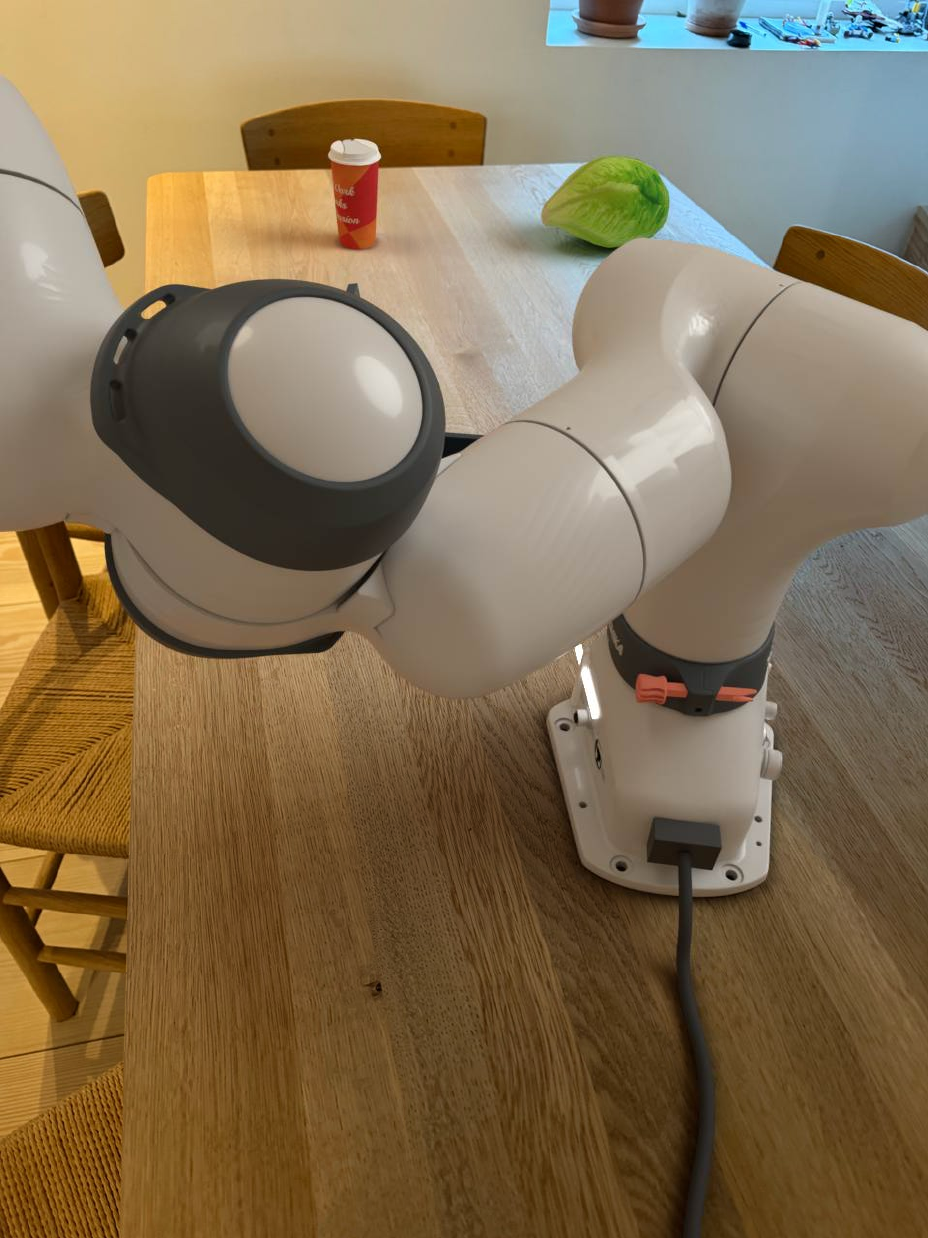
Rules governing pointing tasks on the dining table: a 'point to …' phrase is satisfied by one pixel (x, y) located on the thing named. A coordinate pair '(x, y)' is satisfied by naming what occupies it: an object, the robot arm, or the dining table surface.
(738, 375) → the robot arm
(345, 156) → the paper cup
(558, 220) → the lettuce
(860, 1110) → the dining table surface
